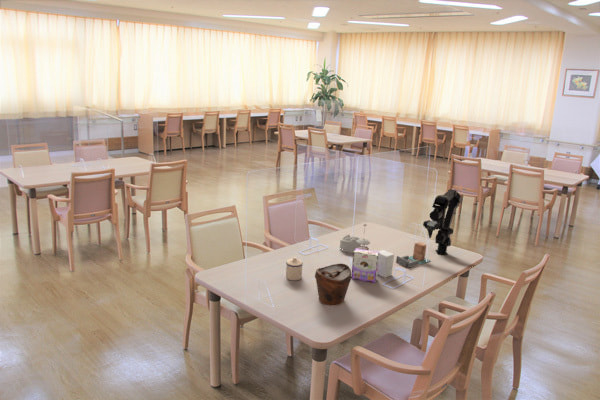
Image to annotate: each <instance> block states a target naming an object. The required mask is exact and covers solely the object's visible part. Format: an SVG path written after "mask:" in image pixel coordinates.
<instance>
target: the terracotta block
mask: <svg viewBox="0 0 600 400" xmlns="http://www.w3.org/2000/svg"><path fill="white" fill-rule="evenodd" d="M426 251H427V244H426V243H423V242H420V241H419V242H416V243H415V242H414V247H413V253H412V256H413V259H415V260H419V261H422V260H424V259H426Z"/></svg>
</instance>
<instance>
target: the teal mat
mask: <svg viewBox="0 0 600 400" xmlns="http://www.w3.org/2000/svg"><path fill="white" fill-rule="evenodd" d="M426 259H427V262H426ZM408 261H410V262H412V261H415V259H413V255H409V259H408ZM427 263H431V259H428V258H425V259H424V260H422V261H419V262H418V265H420V266H421V265H423V264H427Z"/></svg>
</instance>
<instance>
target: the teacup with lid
mask: <svg viewBox="0 0 600 400" xmlns="http://www.w3.org/2000/svg"><path fill="white" fill-rule="evenodd" d="M285 263H286V265H285V266H286V269H285V270H286V271H285V277H286V279H287V280H290V281H298V280H301V279H302V274H303V261H302V260H301V259H298V258H297V257H296V256H293V257H292V258H290V259H287V260H286V262H285Z"/></svg>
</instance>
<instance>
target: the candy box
mask: <svg viewBox="0 0 600 400" xmlns="http://www.w3.org/2000/svg"><path fill="white" fill-rule="evenodd" d="M379 254H380V252H378V251H375V250H374V251H373V250H363V249H358V248H356V249H355V250H354V252H352V266H351V280H352V279H353V280H359V281H363V282H367V283H368V282H370V283H375V284H376V282H377V279H378V264H379Z"/></svg>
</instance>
